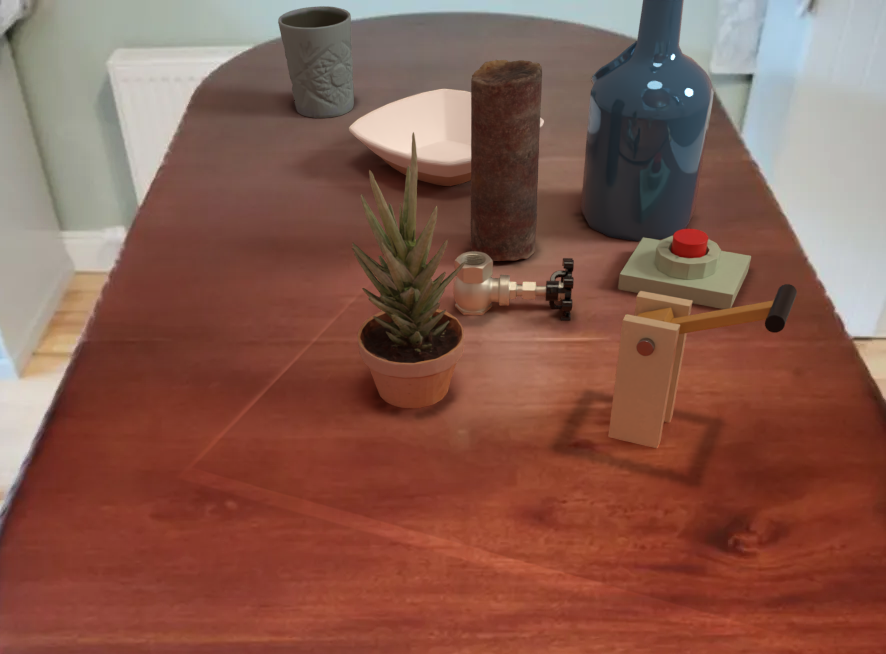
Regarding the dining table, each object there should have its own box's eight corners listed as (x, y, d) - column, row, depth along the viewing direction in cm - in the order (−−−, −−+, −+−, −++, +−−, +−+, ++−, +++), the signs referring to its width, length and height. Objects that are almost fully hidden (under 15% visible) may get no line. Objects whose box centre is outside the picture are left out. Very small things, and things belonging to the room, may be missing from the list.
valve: (451, 335, 102) (569, 337, 101) (450, 275, 97) (574, 276, 96) (455, 302, 106) (568, 304, 106) (454, 243, 102) (573, 244, 101)
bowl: (563, 160, 131) (565, 118, 128) (451, 216, 121) (450, 172, 117) (443, 120, 142) (442, 81, 138) (331, 168, 131) (326, 127, 128)
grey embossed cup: (354, 119, 143) (347, 26, 135) (284, 120, 143) (272, 28, 135) (360, 94, 150) (353, 4, 142) (293, 95, 151) (282, 5, 142)
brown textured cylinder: (513, 277, 110) (520, 83, 96) (457, 261, 113) (455, 70, 99) (546, 248, 114) (557, 59, 100) (491, 234, 117) (494, 48, 103)
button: (709, 247, 106) (712, 231, 105) (700, 262, 104) (703, 246, 103) (675, 241, 107) (678, 226, 106) (667, 256, 105) (669, 240, 104)
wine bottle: (712, 213, 120) (765, -84, 98) (659, 257, 112) (704, -54, 91) (612, 186, 126) (641, -100, 104) (556, 226, 118) (575, -73, 97)
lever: (799, 305, 77) (793, 276, 76) (787, 336, 74) (781, 307, 73) (650, 330, 84) (643, 304, 83) (634, 361, 81) (626, 334, 80)
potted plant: (387, 442, 90) (367, 165, 72) (348, 389, 96) (320, 121, 78) (486, 412, 92) (490, 138, 75) (442, 362, 98) (436, 98, 81)
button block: (747, 274, 109) (754, 239, 106) (729, 314, 103) (736, 278, 101) (640, 255, 113) (645, 221, 110) (617, 292, 107) (621, 257, 104)
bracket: (717, 427, 90) (745, 297, 81) (692, 485, 84) (720, 353, 75) (589, 398, 94) (602, 271, 84) (558, 453, 88) (568, 322, 79)
